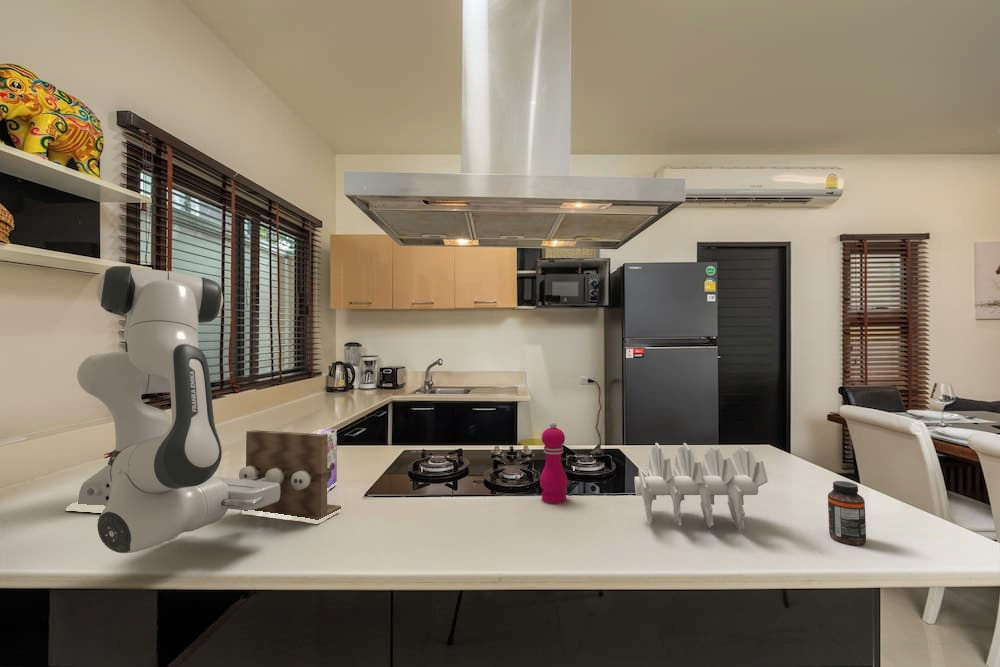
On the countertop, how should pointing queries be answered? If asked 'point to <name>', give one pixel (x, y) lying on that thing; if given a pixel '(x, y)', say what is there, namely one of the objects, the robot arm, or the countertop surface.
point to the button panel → (293, 470)
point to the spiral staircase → (702, 480)
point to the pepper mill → (553, 466)
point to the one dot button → (249, 472)
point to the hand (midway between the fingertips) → (262, 481)
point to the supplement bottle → (846, 514)
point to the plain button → (275, 475)
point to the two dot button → (301, 480)
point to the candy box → (330, 454)
